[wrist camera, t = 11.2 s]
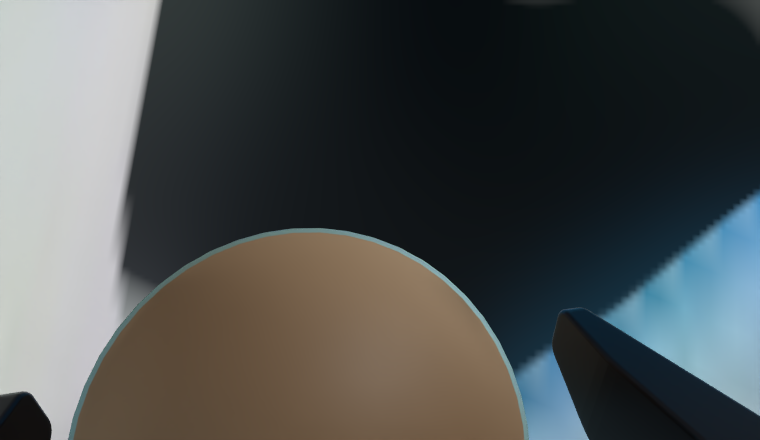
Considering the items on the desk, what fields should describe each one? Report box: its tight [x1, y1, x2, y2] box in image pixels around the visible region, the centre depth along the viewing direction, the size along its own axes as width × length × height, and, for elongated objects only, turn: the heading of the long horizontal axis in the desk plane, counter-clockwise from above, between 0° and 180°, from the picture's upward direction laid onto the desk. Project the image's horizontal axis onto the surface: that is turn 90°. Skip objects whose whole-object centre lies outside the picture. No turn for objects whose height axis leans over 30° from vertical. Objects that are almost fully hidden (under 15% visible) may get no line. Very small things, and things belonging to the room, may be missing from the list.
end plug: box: [68, 228, 529, 440], centre depth 11 cm, size 5×5×12 cm
